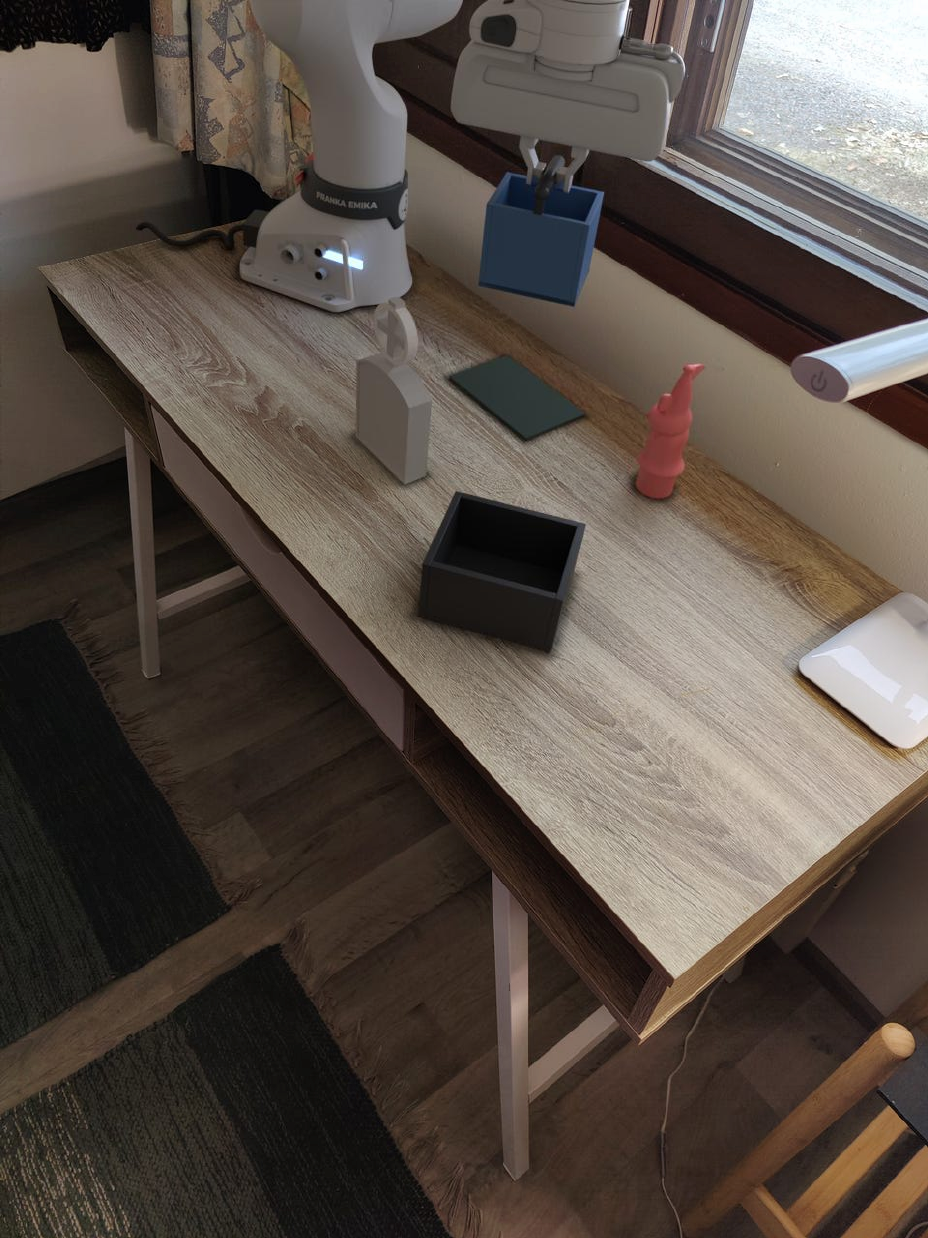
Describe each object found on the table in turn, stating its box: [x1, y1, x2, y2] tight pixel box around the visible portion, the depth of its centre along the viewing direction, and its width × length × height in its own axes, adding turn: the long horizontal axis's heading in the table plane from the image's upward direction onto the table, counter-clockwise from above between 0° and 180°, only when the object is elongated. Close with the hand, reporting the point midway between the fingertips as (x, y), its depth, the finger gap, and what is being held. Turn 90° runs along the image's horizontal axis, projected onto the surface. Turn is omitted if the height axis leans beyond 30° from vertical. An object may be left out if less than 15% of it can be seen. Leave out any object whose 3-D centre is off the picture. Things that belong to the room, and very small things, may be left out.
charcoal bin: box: [417, 490, 587, 653], centre depth 87 cm, size 12×10×7 cm
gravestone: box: [355, 296, 433, 485], centre depth 95 cm, size 3×9×18 cm, turn 37°
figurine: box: [635, 363, 706, 499], centre depth 97 cm, size 5×5×15 cm
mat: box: [448, 354, 586, 442], centre depth 111 cm, size 14×9×1 cm, turn 39°
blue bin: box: [477, 154, 605, 308], centre depth 96 cm, size 10×9×11 cm
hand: (548, 186), depth 93 cm, fingers closed on blue bin
